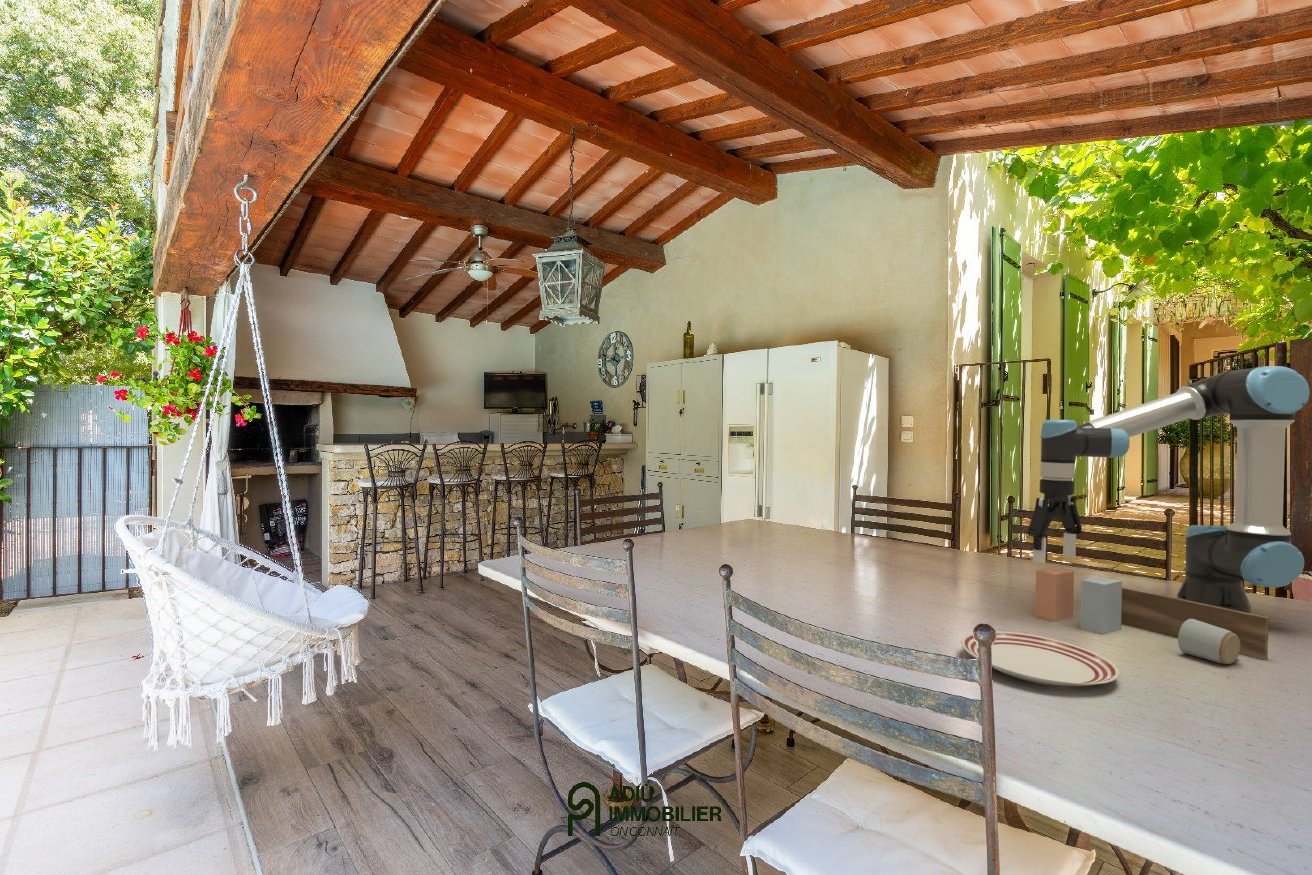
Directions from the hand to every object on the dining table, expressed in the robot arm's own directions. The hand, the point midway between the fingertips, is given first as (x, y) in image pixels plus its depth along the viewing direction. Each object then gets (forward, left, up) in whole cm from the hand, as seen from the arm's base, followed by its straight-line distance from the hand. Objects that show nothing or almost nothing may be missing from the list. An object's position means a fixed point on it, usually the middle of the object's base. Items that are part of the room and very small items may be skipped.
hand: (1054, 560), depth 160 cm
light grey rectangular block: (0, +11, -15) cm, 18 cm away
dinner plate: (+39, +18, -15) cm, 45 cm away
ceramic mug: (-1, +32, -15) cm, 36 cm away
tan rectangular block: (0, 0, -15) cm, 15 cm away
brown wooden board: (-10, +22, -15) cm, 28 cm away
